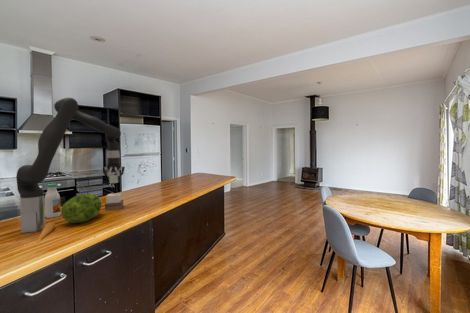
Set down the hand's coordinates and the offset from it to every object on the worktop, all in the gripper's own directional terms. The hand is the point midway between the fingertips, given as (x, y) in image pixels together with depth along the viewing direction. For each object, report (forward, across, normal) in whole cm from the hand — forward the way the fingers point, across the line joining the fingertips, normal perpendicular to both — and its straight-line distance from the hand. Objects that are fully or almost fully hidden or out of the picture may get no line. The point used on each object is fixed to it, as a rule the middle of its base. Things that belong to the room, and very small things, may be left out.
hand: (114, 181), depth 164 cm
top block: (+14, 0, 0) cm, 14 cm away
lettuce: (+19, -12, -24) cm, 33 cm away
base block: (+19, 0, 0) cm, 19 cm away
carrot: (+19, -24, -46) cm, 55 cm away
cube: (+1, 0, 0) cm, 1 cm away
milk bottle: (+19, -33, -9) cm, 39 cm away
